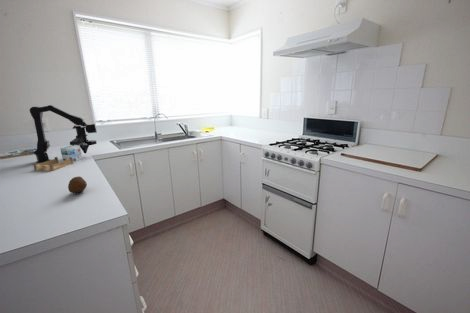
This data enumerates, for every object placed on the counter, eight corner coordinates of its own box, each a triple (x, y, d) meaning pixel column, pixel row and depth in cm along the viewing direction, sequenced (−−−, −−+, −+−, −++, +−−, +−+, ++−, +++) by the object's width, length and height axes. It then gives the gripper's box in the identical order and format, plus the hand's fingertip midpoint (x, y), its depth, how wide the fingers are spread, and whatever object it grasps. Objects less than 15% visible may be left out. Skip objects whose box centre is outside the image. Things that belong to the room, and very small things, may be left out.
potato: (87, 187, 114) (84, 173, 112) (88, 194, 106) (85, 178, 104) (70, 191, 110) (66, 176, 108) (69, 198, 102) (65, 182, 100)
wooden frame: (34, 170, 144) (32, 163, 143) (57, 163, 160) (55, 157, 158) (52, 170, 142) (50, 164, 141) (73, 163, 158) (72, 157, 157)
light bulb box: (70, 162, 160) (67, 148, 157) (62, 162, 161) (59, 148, 158) (83, 158, 170) (80, 145, 167) (75, 158, 171) (72, 144, 168)
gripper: (61, 135, 166) (66, 155, 170) (84, 135, 164) (88, 156, 168) (73, 133, 177) (77, 152, 181) (95, 133, 174) (98, 152, 178)
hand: (85, 153), depth 177 cm, fingers closed
